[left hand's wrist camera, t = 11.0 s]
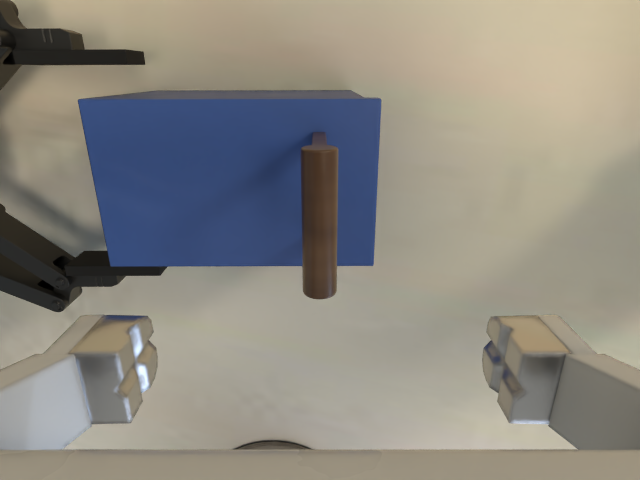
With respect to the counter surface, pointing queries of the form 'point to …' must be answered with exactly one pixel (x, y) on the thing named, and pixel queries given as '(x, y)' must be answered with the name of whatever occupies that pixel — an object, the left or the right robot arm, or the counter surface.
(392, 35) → the counter surface
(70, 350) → the left robot arm
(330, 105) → the lid
